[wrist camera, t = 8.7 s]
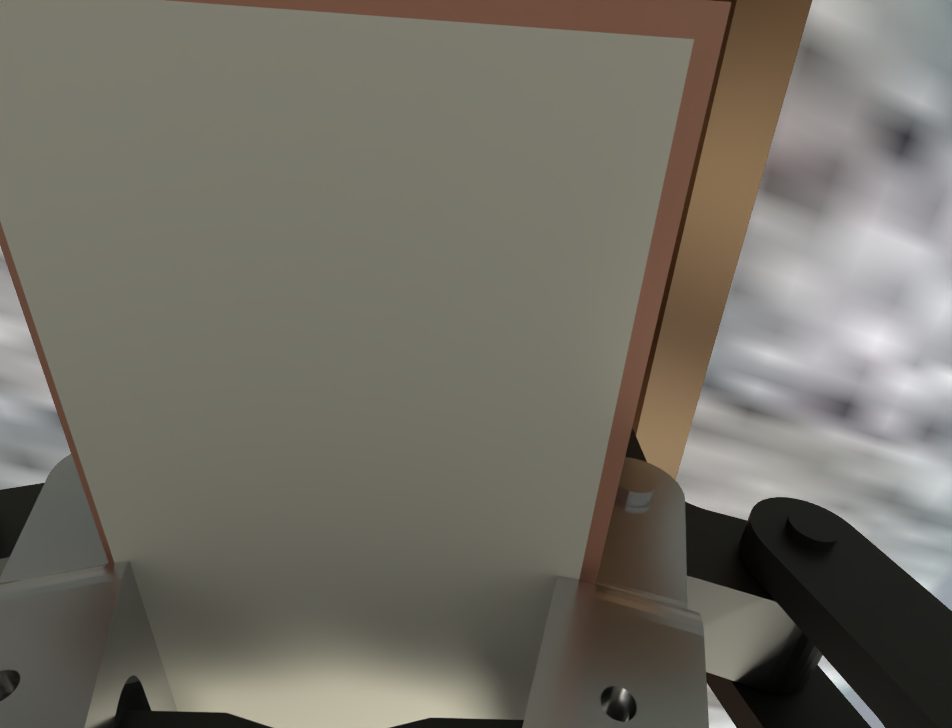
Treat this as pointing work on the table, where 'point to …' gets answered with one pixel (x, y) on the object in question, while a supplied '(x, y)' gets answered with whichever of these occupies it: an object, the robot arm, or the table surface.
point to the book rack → (716, 216)
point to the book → (349, 318)
